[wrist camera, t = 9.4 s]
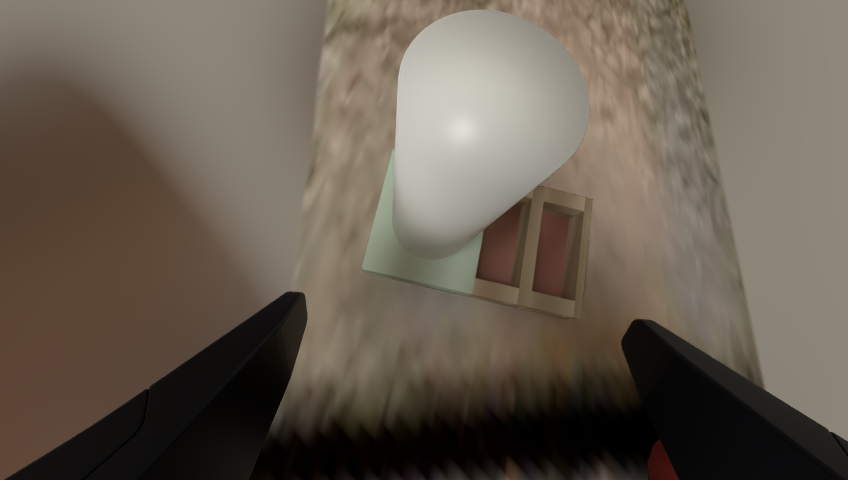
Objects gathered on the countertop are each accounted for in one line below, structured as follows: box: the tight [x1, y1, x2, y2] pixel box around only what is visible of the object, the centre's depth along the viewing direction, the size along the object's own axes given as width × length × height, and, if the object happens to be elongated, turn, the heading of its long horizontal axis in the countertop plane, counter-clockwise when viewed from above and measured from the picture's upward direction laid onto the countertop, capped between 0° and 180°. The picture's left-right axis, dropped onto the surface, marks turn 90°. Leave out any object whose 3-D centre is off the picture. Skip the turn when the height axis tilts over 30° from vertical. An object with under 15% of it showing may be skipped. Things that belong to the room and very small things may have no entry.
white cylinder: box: [392, 10, 590, 260], centre depth 14 cm, size 5×5×12 cm
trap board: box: [361, 149, 592, 319], centre depth 21 cm, size 14×8×2 cm, turn 78°
